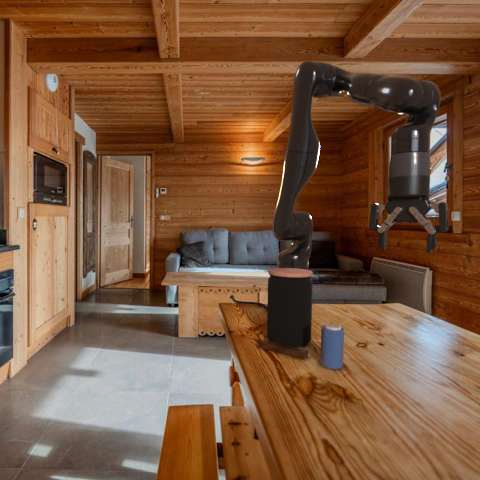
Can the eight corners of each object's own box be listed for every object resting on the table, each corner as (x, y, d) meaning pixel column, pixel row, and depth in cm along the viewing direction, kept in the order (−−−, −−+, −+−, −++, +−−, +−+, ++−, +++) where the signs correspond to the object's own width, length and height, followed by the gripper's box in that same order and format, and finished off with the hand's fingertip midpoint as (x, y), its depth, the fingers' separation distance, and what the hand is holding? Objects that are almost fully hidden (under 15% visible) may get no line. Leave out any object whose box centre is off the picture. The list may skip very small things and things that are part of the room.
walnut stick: (258, 347, 93) (259, 341, 93) (264, 345, 95) (264, 339, 95) (303, 359, 85) (303, 352, 85) (308, 356, 87) (308, 350, 87)
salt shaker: (317, 365, 82) (318, 325, 82) (325, 359, 85) (326, 321, 85) (338, 370, 79) (339, 329, 79) (346, 365, 82) (347, 325, 82)
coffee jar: (312, 338, 101) (314, 269, 100) (309, 350, 91) (311, 274, 90) (270, 332, 105) (271, 266, 104) (263, 344, 95) (264, 271, 94)
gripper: (366, 176, 85) (364, 250, 86) (446, 171, 75) (442, 254, 76) (377, 179, 90) (374, 248, 91) (453, 174, 80) (449, 252, 81)
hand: (405, 251), depth 84 cm, fingers open, 8 cm apart
